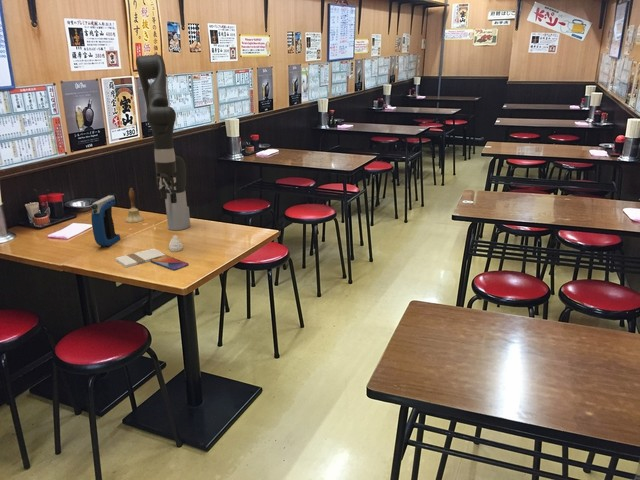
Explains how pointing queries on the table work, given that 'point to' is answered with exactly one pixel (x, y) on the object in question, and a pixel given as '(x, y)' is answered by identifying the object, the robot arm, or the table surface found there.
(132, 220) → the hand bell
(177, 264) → the smartphone
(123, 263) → the white panel
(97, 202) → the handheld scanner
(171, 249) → the garlic bulb
